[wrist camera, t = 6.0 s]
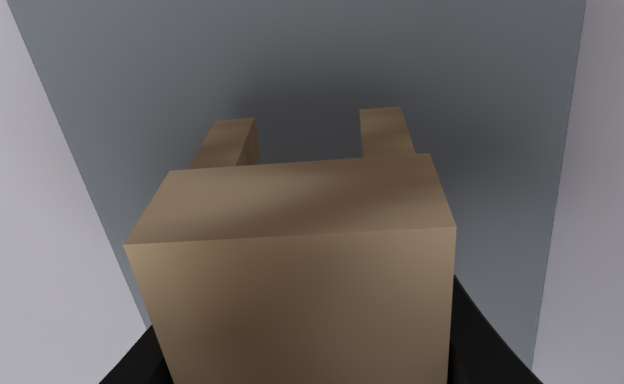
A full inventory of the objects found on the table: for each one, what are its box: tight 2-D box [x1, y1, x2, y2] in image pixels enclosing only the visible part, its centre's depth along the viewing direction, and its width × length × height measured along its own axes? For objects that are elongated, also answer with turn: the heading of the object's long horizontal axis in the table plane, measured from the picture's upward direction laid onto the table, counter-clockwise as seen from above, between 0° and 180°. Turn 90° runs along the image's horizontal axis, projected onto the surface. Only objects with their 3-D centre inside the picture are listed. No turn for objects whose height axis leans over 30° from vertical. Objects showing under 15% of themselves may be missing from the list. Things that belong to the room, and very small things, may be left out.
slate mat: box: [7, 0, 586, 370], centre depth 15 cm, size 18×14×1 cm
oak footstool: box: [123, 106, 457, 384], centre depth 12 cm, size 5×8×5 cm, turn 6°
